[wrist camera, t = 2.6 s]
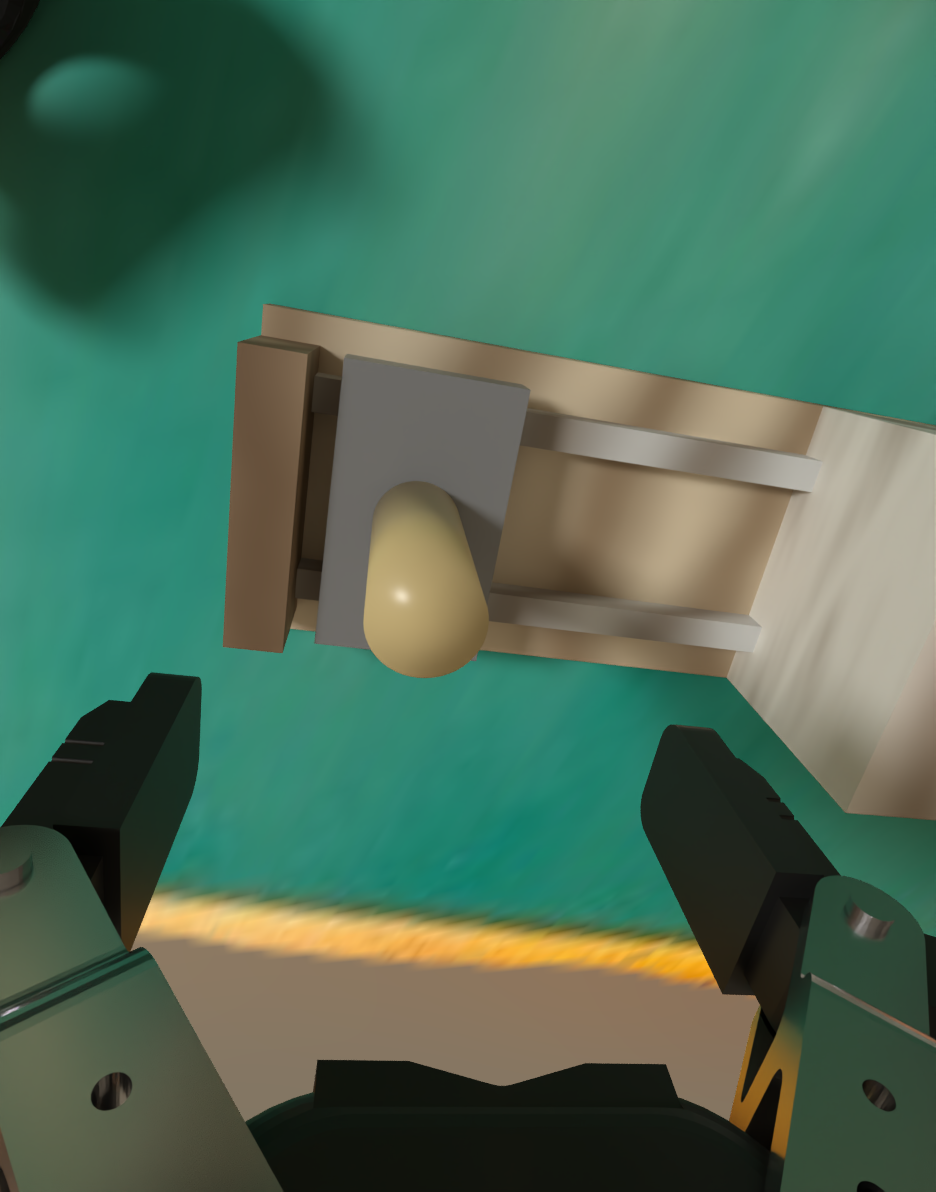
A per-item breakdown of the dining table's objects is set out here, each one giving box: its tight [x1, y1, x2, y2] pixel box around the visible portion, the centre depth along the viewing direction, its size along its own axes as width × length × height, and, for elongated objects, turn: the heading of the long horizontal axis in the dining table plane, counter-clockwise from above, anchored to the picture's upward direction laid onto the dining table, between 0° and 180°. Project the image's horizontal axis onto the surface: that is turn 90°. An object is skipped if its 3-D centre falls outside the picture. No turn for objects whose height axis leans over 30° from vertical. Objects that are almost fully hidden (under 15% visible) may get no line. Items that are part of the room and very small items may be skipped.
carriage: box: [315, 354, 531, 678], centre depth 21 cm, size 6×10×10 cm, turn 170°
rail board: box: [223, 304, 936, 820], centre depth 25 cm, size 28×12×10 cm, turn 80°
